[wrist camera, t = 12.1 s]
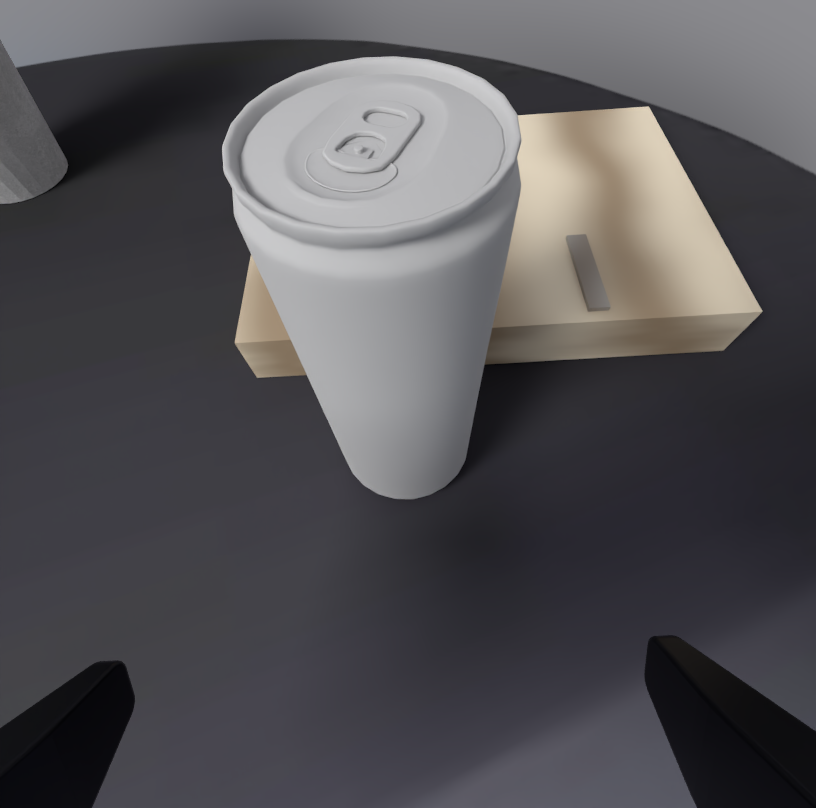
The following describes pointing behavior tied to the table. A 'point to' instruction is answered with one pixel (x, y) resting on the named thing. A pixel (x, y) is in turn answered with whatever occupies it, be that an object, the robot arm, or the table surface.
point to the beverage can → (383, 248)
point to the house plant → (24, 141)
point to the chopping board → (584, 255)
